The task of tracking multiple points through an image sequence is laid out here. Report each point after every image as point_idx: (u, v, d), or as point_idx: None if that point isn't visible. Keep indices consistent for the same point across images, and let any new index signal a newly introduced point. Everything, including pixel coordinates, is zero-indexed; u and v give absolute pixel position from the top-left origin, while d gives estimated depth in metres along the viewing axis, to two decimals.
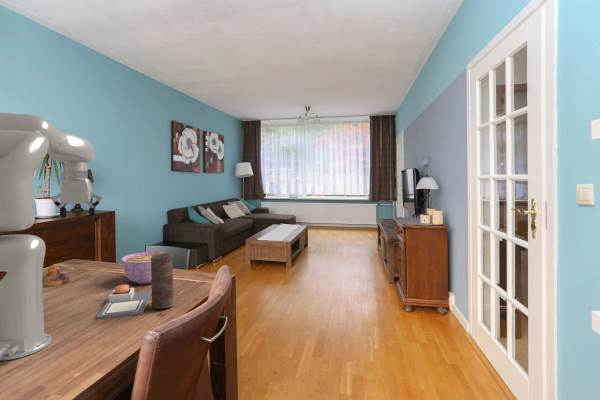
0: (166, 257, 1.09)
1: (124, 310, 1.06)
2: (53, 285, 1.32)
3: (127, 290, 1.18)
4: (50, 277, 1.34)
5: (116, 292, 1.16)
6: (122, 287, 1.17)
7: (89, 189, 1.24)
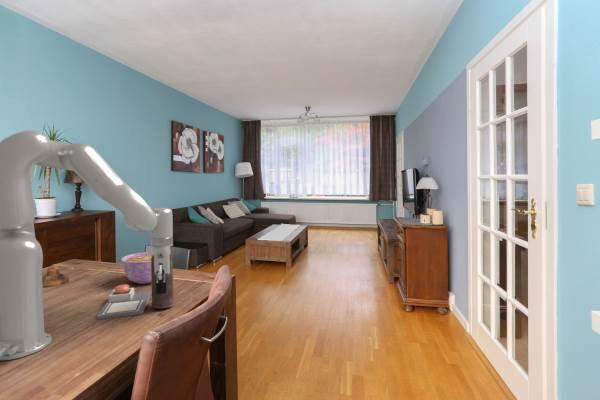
0: None
1: (124, 310, 1.06)
2: (52, 285, 1.32)
3: (127, 290, 1.18)
4: (49, 277, 1.34)
5: (116, 292, 1.16)
6: (122, 287, 1.17)
7: None
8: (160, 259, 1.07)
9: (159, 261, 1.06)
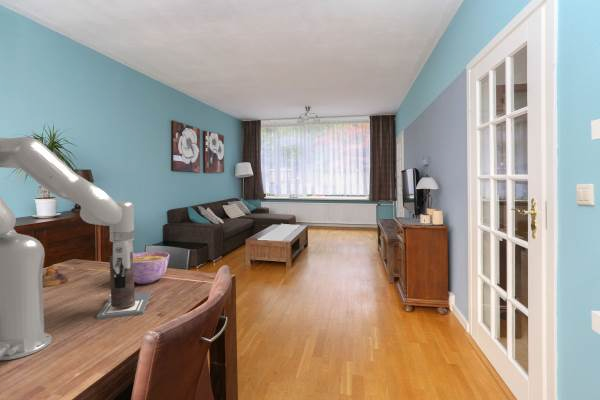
0: None
1: (124, 310, 1.06)
2: (51, 285, 1.33)
3: None
4: (48, 277, 1.34)
5: None
6: None
7: None
8: (119, 253, 1.04)
9: (117, 256, 1.04)
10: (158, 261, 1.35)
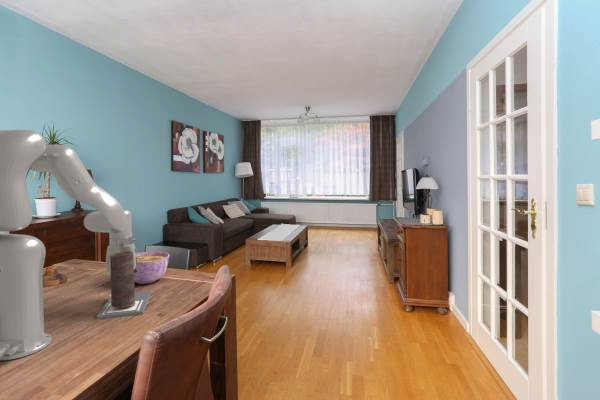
0: (125, 255, 1.06)
1: (124, 310, 1.06)
2: (51, 285, 1.33)
3: None
4: (47, 276, 1.34)
5: None
6: None
7: None
8: (135, 254, 1.19)
9: (135, 256, 1.18)
10: (158, 261, 1.35)
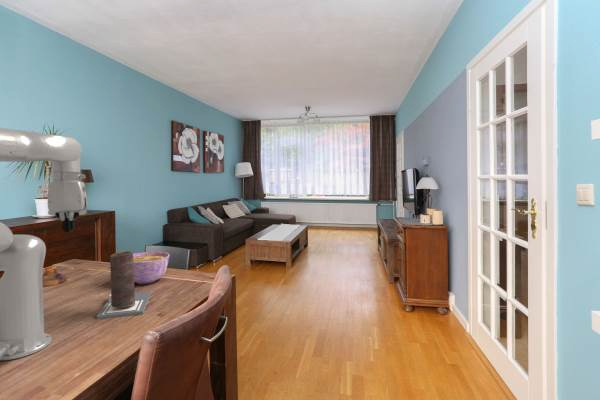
0: (125, 255, 1.06)
1: (124, 310, 1.06)
2: (50, 285, 1.33)
3: None
4: (47, 276, 1.34)
5: None
6: None
7: None
8: (84, 193, 1.04)
9: (84, 195, 1.03)
10: (158, 261, 1.35)
